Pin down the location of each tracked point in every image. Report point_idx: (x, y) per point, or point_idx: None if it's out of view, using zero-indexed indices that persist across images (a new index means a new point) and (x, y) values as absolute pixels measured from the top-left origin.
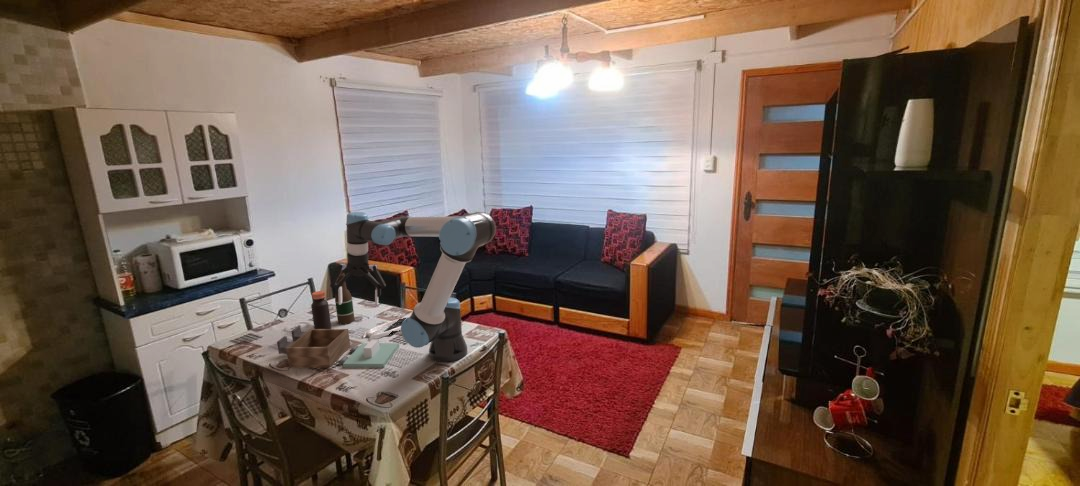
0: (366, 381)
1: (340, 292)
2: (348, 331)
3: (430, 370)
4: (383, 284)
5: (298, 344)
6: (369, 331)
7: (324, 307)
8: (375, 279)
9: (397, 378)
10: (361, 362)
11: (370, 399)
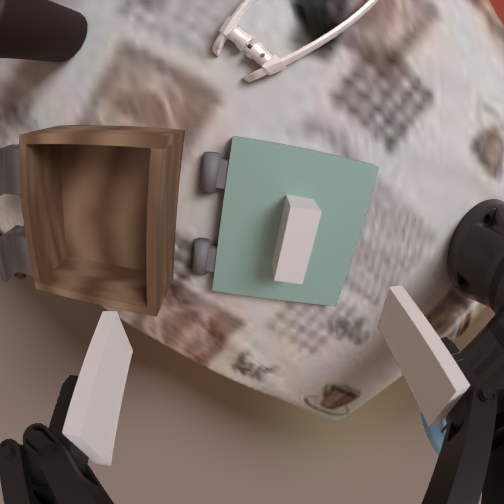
0: (296, 353)
1: (114, 436)
2: (167, 135)
3: (433, 322)
4: (500, 439)
5: (39, 234)
6: (236, 27)
7: (3, 31)
8: (485, 470)
9: (364, 348)
10: (269, 291)
11: (312, 400)
